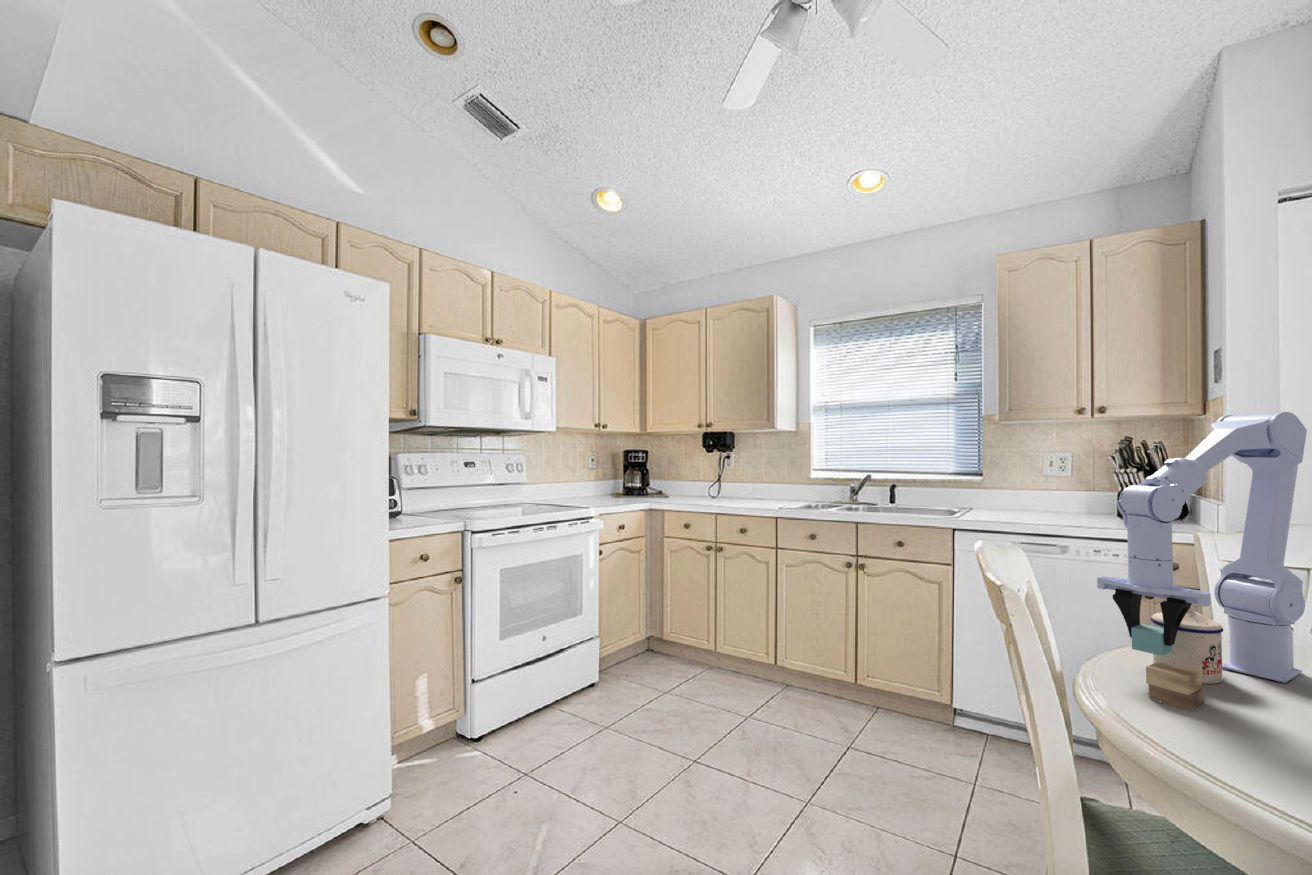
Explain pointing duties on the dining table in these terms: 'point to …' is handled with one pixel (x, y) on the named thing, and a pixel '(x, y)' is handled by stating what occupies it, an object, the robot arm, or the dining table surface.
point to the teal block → (1149, 640)
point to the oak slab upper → (1174, 677)
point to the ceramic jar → (1195, 645)
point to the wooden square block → (1177, 697)
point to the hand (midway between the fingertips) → (1151, 640)
